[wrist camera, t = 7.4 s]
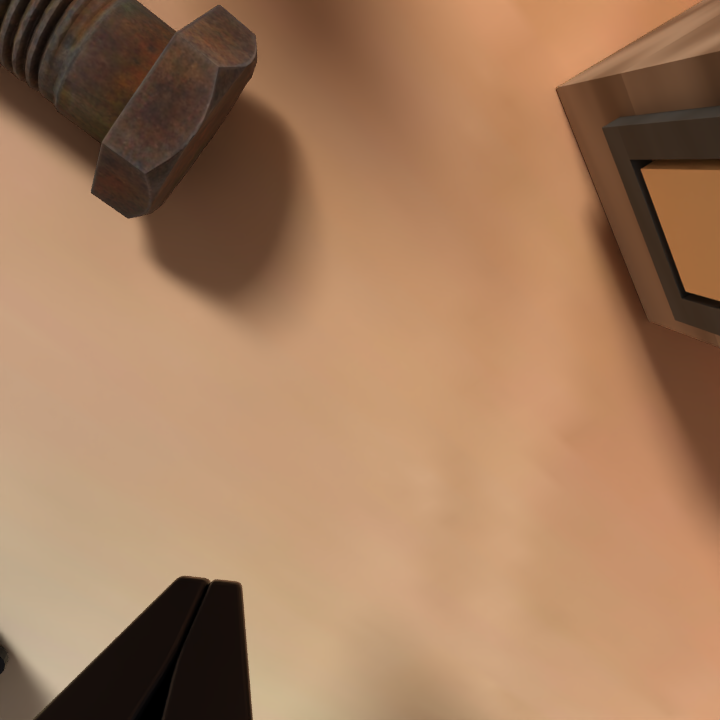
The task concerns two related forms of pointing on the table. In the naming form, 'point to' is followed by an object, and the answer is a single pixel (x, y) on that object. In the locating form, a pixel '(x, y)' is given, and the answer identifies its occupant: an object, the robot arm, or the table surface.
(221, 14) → the bolt
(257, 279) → the table surface
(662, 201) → the peg
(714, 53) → the housing
